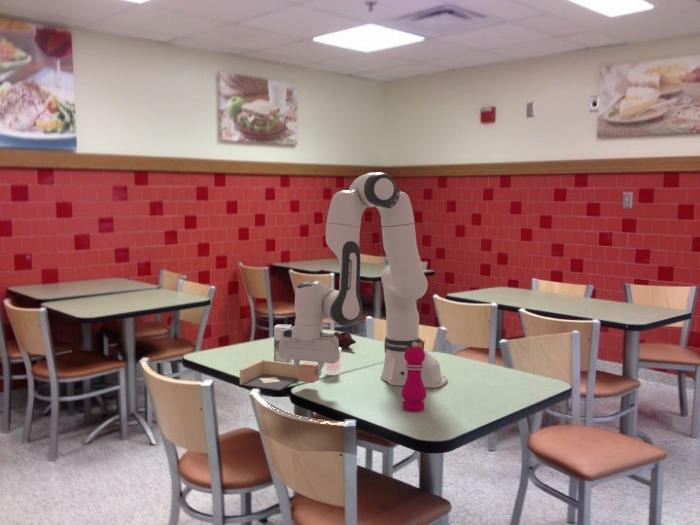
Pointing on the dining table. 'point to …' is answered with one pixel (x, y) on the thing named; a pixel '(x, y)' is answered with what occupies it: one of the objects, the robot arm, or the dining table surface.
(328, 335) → the robot arm
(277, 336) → the syrup box
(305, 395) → the dining table surface
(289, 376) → the arena
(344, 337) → the brown gnome figurine
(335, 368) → the beverage cup
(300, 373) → the cube
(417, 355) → the pepper mill
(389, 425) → the dining table surface
